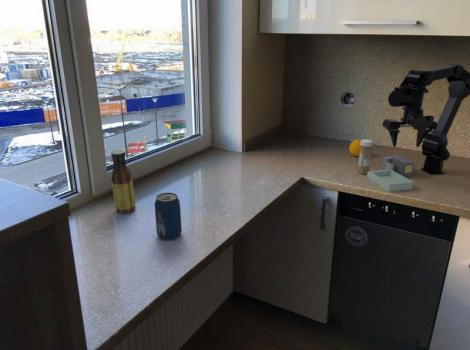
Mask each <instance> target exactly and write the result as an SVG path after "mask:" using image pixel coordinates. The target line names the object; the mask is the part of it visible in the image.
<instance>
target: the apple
mask: <svg viewBox="0 0 470 350" xmlns="http://www.w3.org/2000/svg"><path fill="white" fill-rule="evenodd" d="M361 140H362V139H355V140H353V141H352V142H350V145H349V148H348V149H349V152H350V154H351V155H352V156H354V157H359V155H360V148H361V145H360V144H361Z"/></svg>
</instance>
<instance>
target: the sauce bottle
mask: <svg viewBox="0 0 470 350" xmlns="http://www.w3.org/2000/svg"><path fill="white" fill-rule="evenodd" d="M110 155H111V158H112V164H113V165H112V166H113V168H112V173H111V178H110V180H111V185H112V192H113V200H114V205H115V209H116V212H117V213H119V214H123V215H124V214H128V213H129V214H130V213H133V212H134V211H135V210H136V197H135V191H134V184H133V183H134V182H133V177H132V172H131V170H130V168H129V167H128V166H127V163H126V151H125V150H123V149H118V150H116V149H115V150H113V151H111V154H110Z"/></svg>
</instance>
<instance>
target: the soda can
mask: <svg viewBox="0 0 470 350" xmlns="http://www.w3.org/2000/svg"><path fill="white" fill-rule="evenodd" d="M154 212H155V213H154V215H155V227H156V234H157V236H158V237H159V238H160V239H161V240H162V241H174V240H176V239H178V238H179V237H180V235H181V234H182V217H181V216H182V214H181V213H182V212H181V200H180V199H179V197H178V195H177V194H176V193H174V192H163V193H160V194H158V195H157V196H156V197H155V202H154Z"/></svg>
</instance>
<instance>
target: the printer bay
mask: <svg viewBox="0 0 470 350" xmlns="http://www.w3.org/2000/svg"><path fill="white" fill-rule="evenodd" d="M399 156H400V155H391V156H383V158H382V166H381V168H382V169H381V170H389V169H391V170H393V171H394V168H395V165H393V164H391V163H392V157H399Z"/></svg>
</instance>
